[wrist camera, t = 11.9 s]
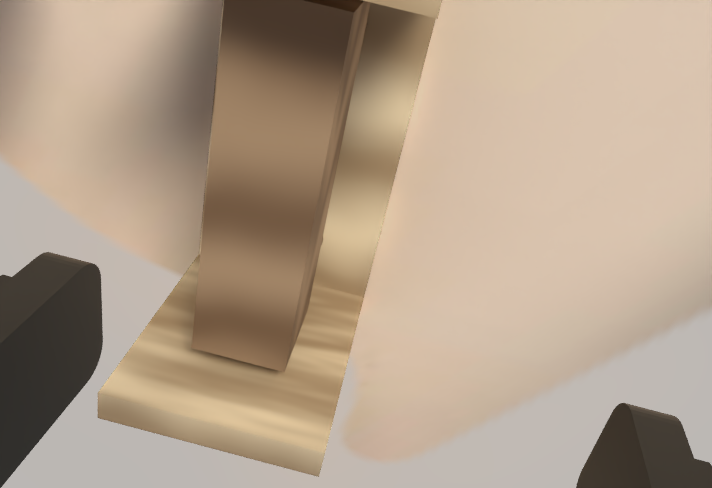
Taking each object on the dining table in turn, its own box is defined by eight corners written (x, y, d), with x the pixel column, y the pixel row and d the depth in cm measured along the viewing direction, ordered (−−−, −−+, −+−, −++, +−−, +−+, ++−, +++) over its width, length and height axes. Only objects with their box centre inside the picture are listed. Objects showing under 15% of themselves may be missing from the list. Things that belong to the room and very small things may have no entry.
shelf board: (266, -34, 26) (226, -19, 21) (372, -9, 26) (354, 12, 21) (226, 289, 34) (191, 347, 29) (307, 310, 34) (284, 372, 29)
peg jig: (242, -131, 29) (98, -145, 17) (460, -79, 28) (456, -58, 17) (202, 273, 40) (97, 425, 28) (359, 314, 39) (316, 484, 28)
